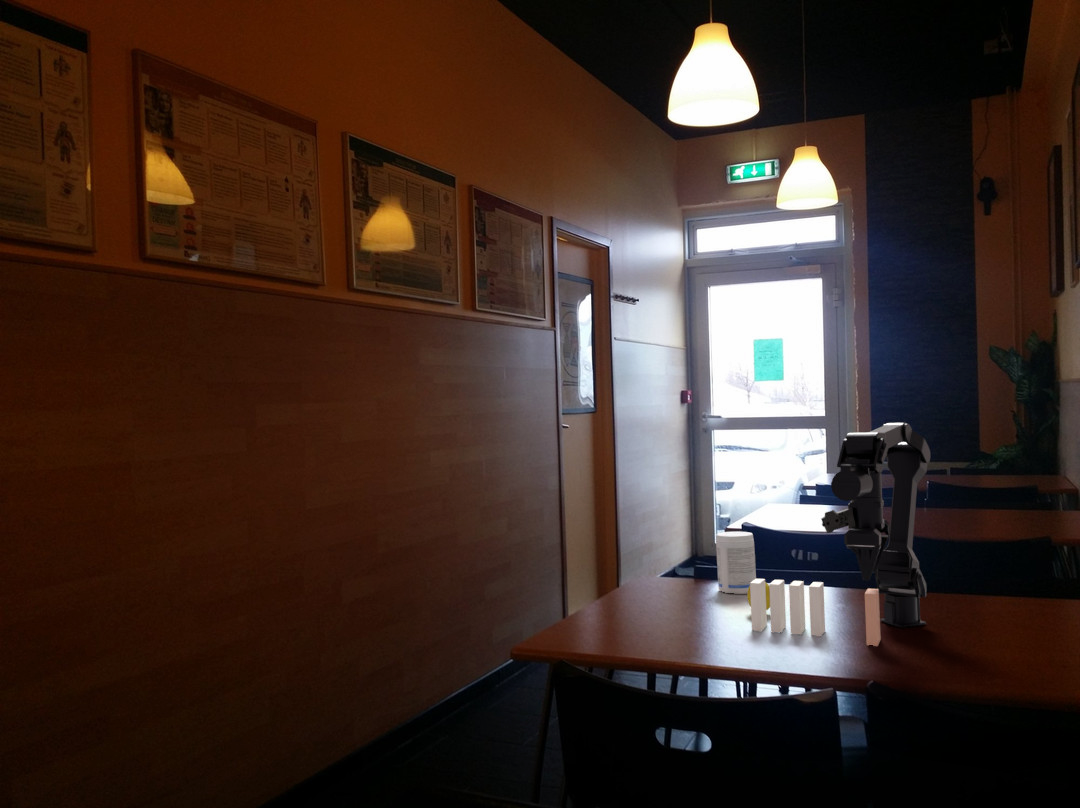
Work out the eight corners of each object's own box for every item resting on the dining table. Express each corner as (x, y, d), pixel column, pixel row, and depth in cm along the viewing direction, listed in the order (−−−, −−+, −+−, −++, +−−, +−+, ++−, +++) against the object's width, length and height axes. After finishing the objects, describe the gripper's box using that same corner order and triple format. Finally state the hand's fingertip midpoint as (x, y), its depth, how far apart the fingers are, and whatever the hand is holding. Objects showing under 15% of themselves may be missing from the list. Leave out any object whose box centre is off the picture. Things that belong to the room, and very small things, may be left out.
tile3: (805, 629, 180) (803, 581, 180) (800, 634, 175) (798, 585, 176) (795, 628, 181) (793, 580, 181) (790, 633, 176) (789, 585, 177)
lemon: (774, 617, 191) (772, 581, 191) (748, 617, 192) (747, 581, 192) (772, 611, 196) (771, 576, 196) (747, 611, 197) (746, 576, 197)
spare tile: (880, 639, 170) (878, 589, 170) (877, 646, 165) (875, 594, 165) (869, 638, 171) (867, 588, 171) (866, 645, 166) (864, 593, 166)
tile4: (786, 627, 182) (784, 580, 182) (780, 633, 177) (779, 584, 177) (776, 626, 183) (774, 579, 183) (771, 632, 178) (769, 584, 178)
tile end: (767, 625, 184) (765, 579, 184) (761, 631, 179) (759, 583, 179) (757, 625, 185) (755, 578, 185) (751, 630, 180) (750, 582, 180)
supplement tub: (763, 590, 219) (761, 532, 219) (743, 596, 213) (741, 537, 213) (731, 585, 226) (729, 530, 226) (710, 592, 220) (708, 534, 220)
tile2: (825, 630, 178) (823, 582, 178) (821, 636, 174) (819, 587, 174) (815, 629, 179) (813, 581, 179) (810, 635, 175) (808, 586, 175)
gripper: (832, 491, 181) (834, 565, 180) (815, 500, 164) (818, 582, 164) (888, 492, 175) (891, 568, 175) (877, 501, 159) (880, 585, 159)
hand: (869, 575), depth 168 cm, fingers open, 9 cm apart
